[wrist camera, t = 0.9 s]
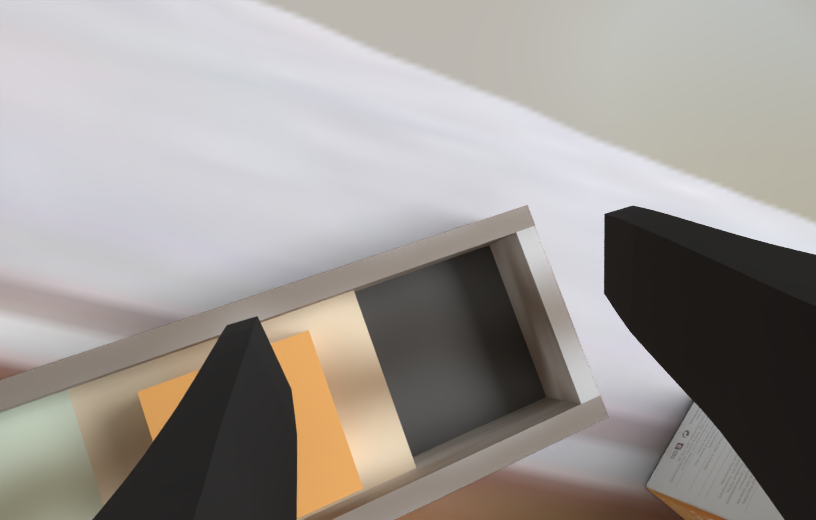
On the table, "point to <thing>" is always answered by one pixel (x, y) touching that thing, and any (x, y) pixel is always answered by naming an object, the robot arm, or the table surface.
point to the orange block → (315, 422)
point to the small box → (708, 476)
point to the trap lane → (339, 377)
